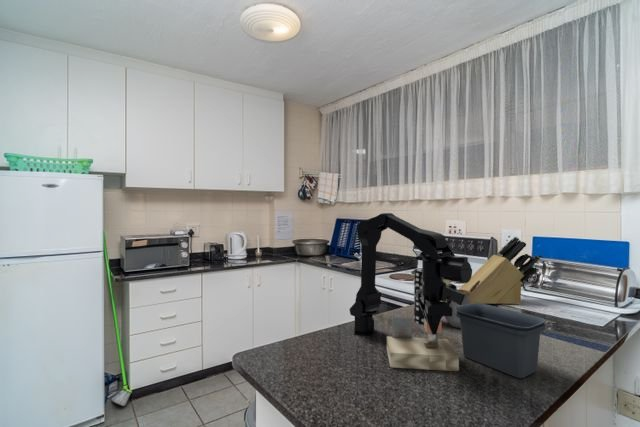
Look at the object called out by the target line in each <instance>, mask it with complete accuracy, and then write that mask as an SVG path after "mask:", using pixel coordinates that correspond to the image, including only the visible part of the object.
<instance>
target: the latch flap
mask: <svg viewBox="0 0 640 427" xmlns="http://www.w3.org/2000/svg"><path fill="white" fill-rule="evenodd" d="M391 337H395V338H412V337H413V318H412V317H404V316H403V317H401V316H399V317H398V316H391Z"/></svg>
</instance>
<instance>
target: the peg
mask: <svg viewBox="0 0 640 427" xmlns="http://www.w3.org/2000/svg"><path fill="white" fill-rule="evenodd" d="M442 323H443V322H442V321H441V320H440V323H439V326H438V330H437V333H436V334H432V332H431V329H430V327H429V324H428V321H427V318H424V325H423V327H424V330H425V332H426V334H427V338H428V344H430V345H438V339H439V334H442V333H443V330H442V327H443V326H442Z"/></svg>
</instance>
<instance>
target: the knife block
mask: <svg viewBox="0 0 640 427" xmlns="http://www.w3.org/2000/svg"><path fill="white" fill-rule="evenodd" d="M525 247H527V243H526V242H525V241H522V240H520V238H519V237H518V236H515V237H513V238H512V239H511V240H509V241H508V242H507V243H506V244H505V245H504V246H502V248H501V249H500V250H499V251H498V252H497V254H492V256H490V258H489V259H487V261H485V263H484V264H482V265H481V266H480V267H479V268H478V269H477V270H476V271H475V272H474V273H472V276H471V279H470V281H469V282H468V283H463V284H462V286H460V287H459V288H458V289H459V290H467V291H470V289H471V288H472V287H473V285H475V283H477V281H481V282H480V283H479V284H480V285H477V287H476V288H475V289H474V290H473V291H472V292H471V293H470V295H469V297H468V298H469V300H470V302H471V304H472V303H480V304H486V305H491V304H493V305H494V304H505V305H508V304H509V305H512V304H514V305H518V304H519V305H520V304H521V302H522V301H521V300H522V298H521V296H522V292H521V291H522V284H523V283H525V282H526V281H528V280H529V279H531V277H532V276H534V275H535V274H536V273H539V271H540V269H539V268H537V267H534V265H535V264H536V263H537V262H538V261H539V260H541V257H540V256H538V255H536V256H534V257H532V255H529V254H528V253H524V254H522V255H520V256H519V257H517V256H518V255H519V254H520V253H521V251H523V250H524V248H525ZM515 257H517V258H516V259H515ZM513 259H515V261H514V263H512V260H513ZM528 259H529V260H528ZM482 283H483V285H482Z"/></svg>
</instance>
